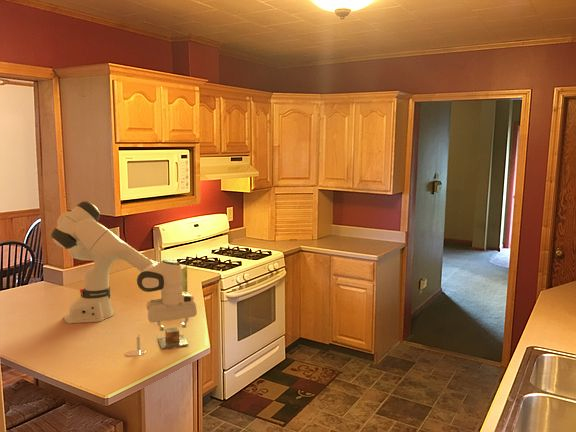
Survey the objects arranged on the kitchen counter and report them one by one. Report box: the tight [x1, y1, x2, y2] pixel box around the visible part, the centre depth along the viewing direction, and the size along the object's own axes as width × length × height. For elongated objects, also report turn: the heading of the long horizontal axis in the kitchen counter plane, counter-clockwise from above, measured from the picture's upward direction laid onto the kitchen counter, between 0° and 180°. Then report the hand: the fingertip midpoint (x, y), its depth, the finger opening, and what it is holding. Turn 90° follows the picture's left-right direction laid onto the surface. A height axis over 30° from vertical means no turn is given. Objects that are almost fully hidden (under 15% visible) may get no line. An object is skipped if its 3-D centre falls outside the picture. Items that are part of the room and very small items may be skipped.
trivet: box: [157, 334, 189, 350], centre depth 211 cm, size 11×11×1 cm
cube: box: [164, 326, 180, 344], centre depth 210 cm, size 5×5×5 cm
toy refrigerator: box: [180, 264, 188, 292], centre depth 257 cm, size 8×7×21 cm
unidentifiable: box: [124, 334, 146, 357], centre depth 199 cm, size 8×5×8 cm
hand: (172, 328), depth 210 cm, fingers open, 8 cm apart
